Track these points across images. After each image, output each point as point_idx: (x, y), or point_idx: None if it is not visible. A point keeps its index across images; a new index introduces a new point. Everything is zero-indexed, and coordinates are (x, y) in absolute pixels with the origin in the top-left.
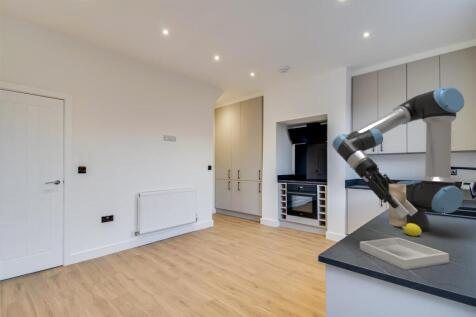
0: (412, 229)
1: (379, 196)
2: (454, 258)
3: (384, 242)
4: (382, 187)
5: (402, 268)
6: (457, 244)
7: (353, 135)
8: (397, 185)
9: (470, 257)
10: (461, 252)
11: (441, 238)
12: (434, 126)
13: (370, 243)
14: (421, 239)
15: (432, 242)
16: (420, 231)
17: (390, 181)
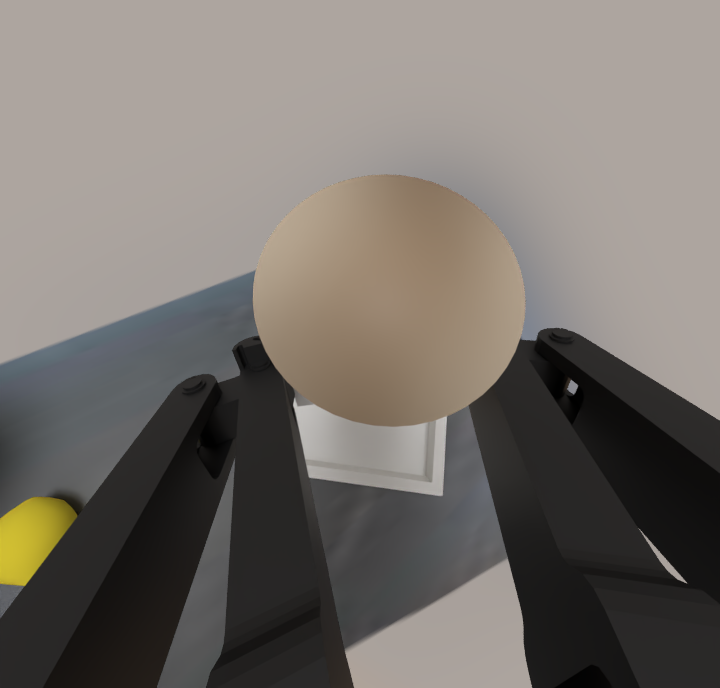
0: (53, 522)
1: (578, 398)
2: (237, 310)
3: (331, 465)
4: (571, 431)
5: None
6: (67, 373)
7: None
8: (484, 224)
9: (189, 296)
10: (158, 327)
11: (19, 441)
12: None
13: (399, 476)
14: (101, 468)
15: (112, 425)
16: (38, 498)
17: (47, 680)
